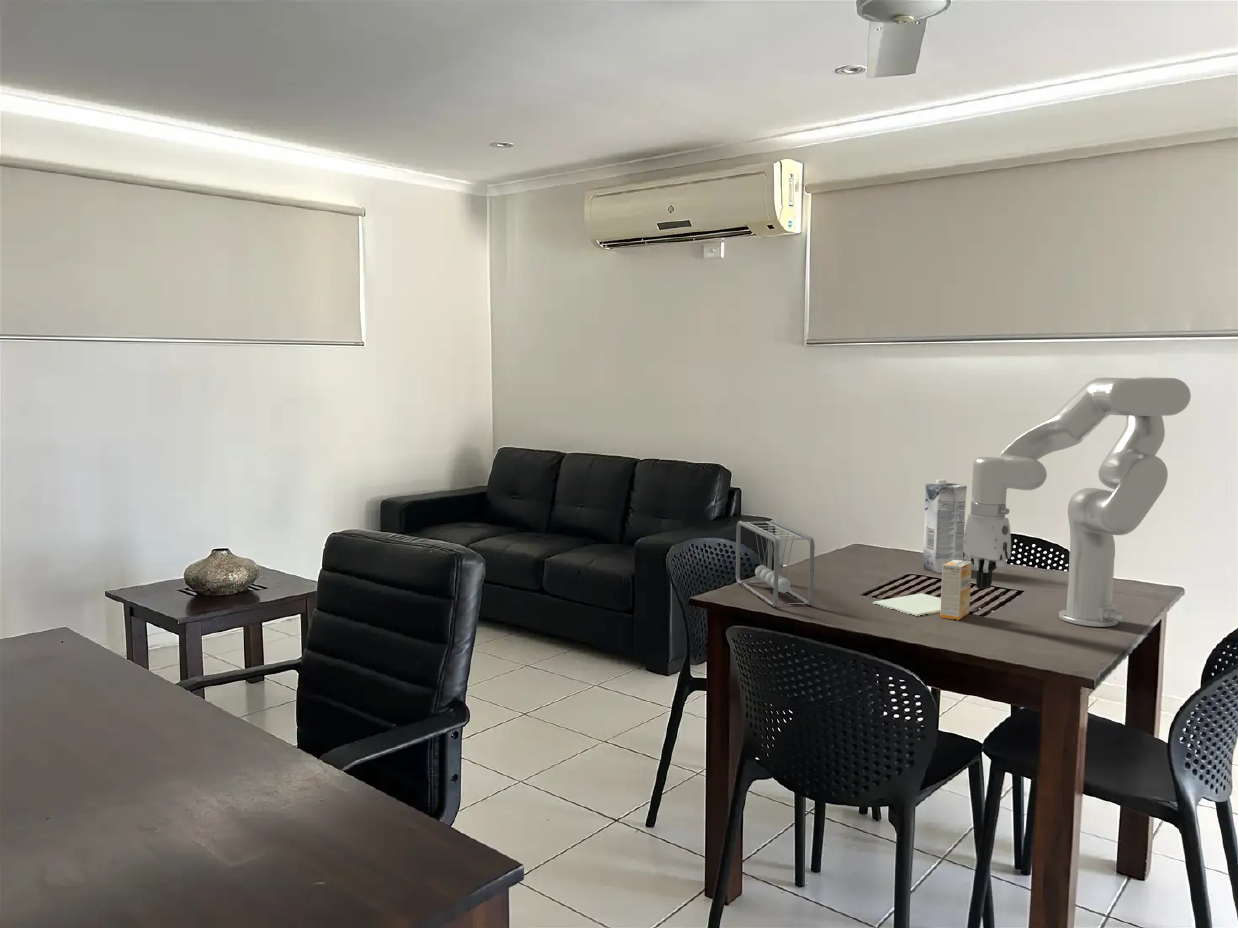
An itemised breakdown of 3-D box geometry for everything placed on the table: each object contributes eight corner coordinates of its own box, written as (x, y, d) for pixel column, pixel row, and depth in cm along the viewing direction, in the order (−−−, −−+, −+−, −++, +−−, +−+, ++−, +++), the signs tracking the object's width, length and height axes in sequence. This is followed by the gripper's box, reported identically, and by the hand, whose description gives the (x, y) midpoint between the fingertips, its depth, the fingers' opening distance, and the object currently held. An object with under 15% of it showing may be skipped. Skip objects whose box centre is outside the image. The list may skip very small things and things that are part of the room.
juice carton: (967, 571, 273) (971, 481, 270) (939, 574, 269) (942, 482, 266) (945, 565, 281) (949, 477, 278) (918, 568, 277) (921, 479, 274)
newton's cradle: (735, 582, 259) (736, 519, 257) (770, 580, 261) (771, 518, 259) (774, 609, 229) (775, 539, 227) (813, 607, 231) (815, 537, 230)
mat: (965, 607, 232) (965, 604, 232) (916, 616, 223) (916, 614, 223) (921, 595, 244) (921, 593, 244) (872, 604, 235) (872, 601, 235)
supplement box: (959, 620, 219) (962, 566, 218) (939, 617, 222) (941, 564, 221) (970, 613, 226) (972, 561, 225) (950, 610, 229) (952, 558, 228)
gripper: (1026, 513, 210) (1021, 592, 212) (971, 505, 223) (967, 579, 225) (1005, 516, 206) (1000, 596, 208) (950, 507, 219) (946, 583, 221)
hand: (983, 587), depth 216 cm, fingers closed
